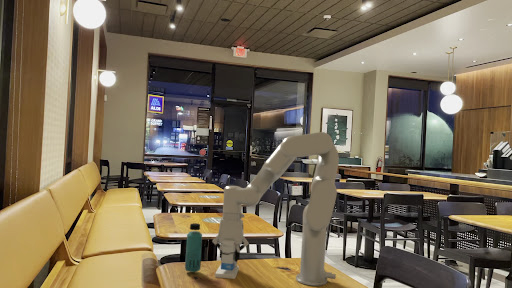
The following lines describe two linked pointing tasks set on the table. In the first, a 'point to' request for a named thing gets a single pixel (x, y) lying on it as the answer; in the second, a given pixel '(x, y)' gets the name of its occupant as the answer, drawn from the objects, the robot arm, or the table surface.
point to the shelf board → (227, 273)
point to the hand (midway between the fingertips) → (229, 259)
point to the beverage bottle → (193, 249)
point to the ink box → (228, 255)
